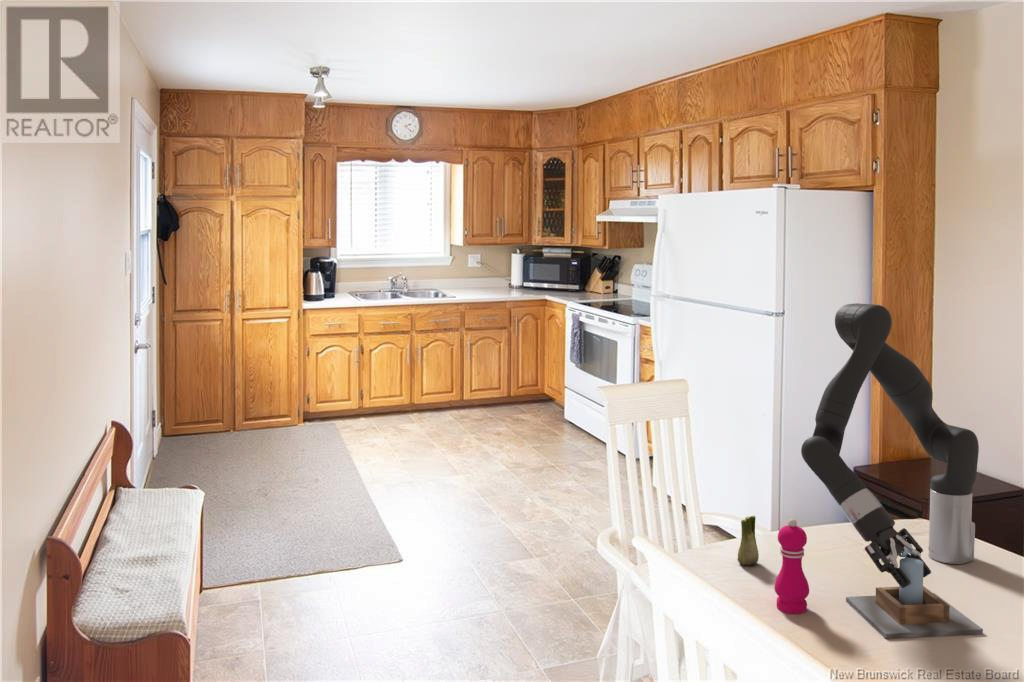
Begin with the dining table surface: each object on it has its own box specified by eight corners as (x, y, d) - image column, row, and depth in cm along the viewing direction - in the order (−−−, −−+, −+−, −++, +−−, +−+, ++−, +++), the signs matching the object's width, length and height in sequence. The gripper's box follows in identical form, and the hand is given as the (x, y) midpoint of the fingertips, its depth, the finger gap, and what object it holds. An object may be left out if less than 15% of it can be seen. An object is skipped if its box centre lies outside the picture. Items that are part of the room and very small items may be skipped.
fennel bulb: (752, 559, 214) (752, 512, 213) (764, 565, 209) (764, 518, 208) (732, 562, 212) (732, 515, 211) (744, 569, 208) (744, 521, 206)
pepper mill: (811, 616, 181) (812, 525, 179) (776, 614, 182) (776, 523, 180) (806, 602, 188) (807, 514, 186) (772, 600, 189) (773, 513, 187)
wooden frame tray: (934, 597, 188) (934, 577, 188) (982, 633, 171) (983, 612, 170) (846, 601, 188) (846, 581, 187) (885, 638, 170) (885, 617, 169)
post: (915, 606, 181) (916, 557, 180) (926, 615, 177) (927, 565, 175) (895, 607, 181) (895, 558, 180) (905, 617, 177) (906, 566, 175)
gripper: (860, 512, 178) (913, 581, 171) (895, 498, 187) (947, 563, 179) (837, 530, 183) (887, 598, 175) (872, 516, 192) (921, 580, 184)
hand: (917, 580), depth 177 cm, fingers open, 8 cm apart
